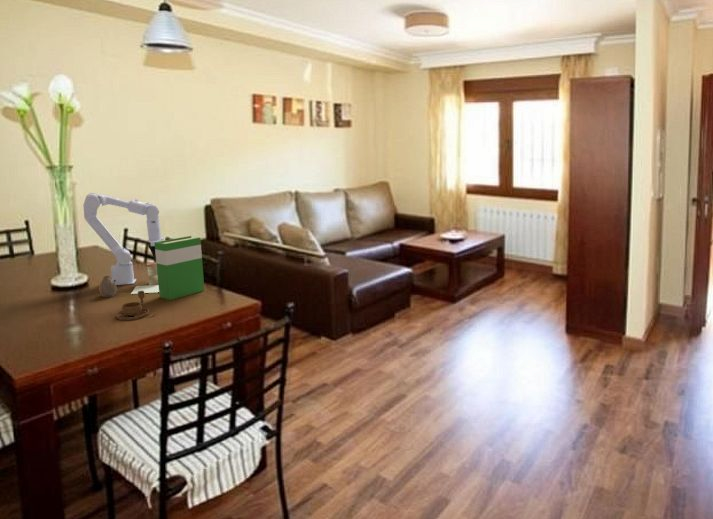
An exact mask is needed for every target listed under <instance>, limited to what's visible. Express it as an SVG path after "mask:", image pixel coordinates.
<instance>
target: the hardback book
mask: <svg viewBox="0 0 713 519" xmlns="http://www.w3.org/2000/svg"><path fill="white" fill-rule="evenodd" d="M201 240H202V239H201V237H194V238H193V237H192V235H188V236H182V237H175V238H172V239H171V238H170V239H164V240H162V241H159V242H154V243H155V253H156V259H155V262H156V264H157V274H158V285H159V293H158V294H159V298H161V297H162V298H161V299H164V298H166V299H165V300H168V299H169V300H168V301H171V299H172V300H176V299H179V298H178V297H180V298H183V297H187V296H189V295H194V294H197V292H198V293H200V292H205V281H204V280H205V279H204V278H205V277H204V268H203V267H204V266H203V254H202V241H201ZM186 295H187V296H186ZM182 296H183V297H182ZM175 298H176V299H175Z"/></svg>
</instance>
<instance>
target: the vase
mask: <svg viewBox="0 0 713 519" xmlns="http://www.w3.org/2000/svg"><path fill="white" fill-rule="evenodd" d="M98 290H99V294H100V295H101V296H102V297H103V298H111V297H114V296H115V295H116V293H117V285H116V284H115V282H114V281H113V280H112V277H111V275H105V276H103V277H102V280H101V281H100V282H99V286H98Z"/></svg>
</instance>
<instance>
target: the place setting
mask: <svg viewBox="0 0 713 519" xmlns="http://www.w3.org/2000/svg"><path fill="white" fill-rule="evenodd" d="M137 297H138V298H139V299H140V302H139V301H138V302H137V301H133V302H127V303H124V304H122V305H121V309H122V310H119V311H118V312H116V313H115V317H116V319H118V320H120V319H122V320H121V321H131V320H130V319H134V320H138V319H137V318H139V319H142V318H141V317H143V318H145V317H147V316H149V314H150V310H149V309H148V308H144V307H143V306H142V305H141V304H143V305H144V298H145V294H144V291H138V294H137ZM142 311H146V312H147V313H146V312H144V314H141V312H142ZM121 313H124V315H125V316H121V315H122V314H121ZM120 314H121V315H120ZM118 315H120V316H118ZM136 315H137V316H136ZM146 315H147V316H146ZM150 315H156V313H154V312H153V313H152V314H150ZM128 316H134V317H128ZM144 316H145V317H144Z"/></svg>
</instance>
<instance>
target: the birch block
mask: <svg viewBox="0 0 713 519" xmlns="http://www.w3.org/2000/svg"><path fill="white" fill-rule="evenodd" d="M146 269H147V278H148V285H158V274H157V264H156V261H149V262H147V264H146Z"/></svg>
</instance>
